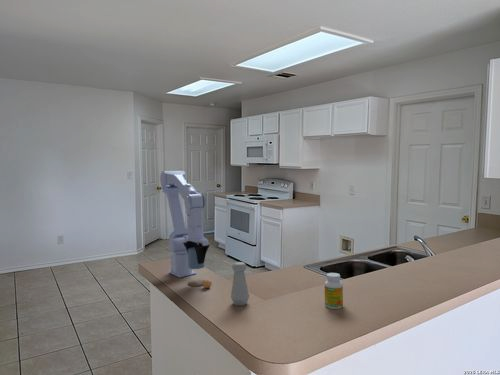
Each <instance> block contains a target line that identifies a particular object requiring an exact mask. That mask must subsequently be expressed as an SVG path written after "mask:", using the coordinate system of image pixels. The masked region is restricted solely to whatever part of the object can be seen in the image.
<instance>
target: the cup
mask: <svg viewBox="0 0 500 375" xmlns="http://www.w3.org/2000/svg"><path fill="white" fill-rule="evenodd" d="M188 266H189V268H191V269H192V270H199V269H204V268H205V267H206V259H205V260H204V263H202V264H198V261H197V254H196V251H195V248H194V247H191V248H189V249H188Z"/></svg>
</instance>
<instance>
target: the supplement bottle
mask: <svg viewBox="0 0 500 375" xmlns="http://www.w3.org/2000/svg"><path fill="white" fill-rule="evenodd" d="M343 285H344V284H343V281H341V275H340V273H337V272H327V274H326V280H325V282H324V306H325V307H326V308H327V309H332V310H339V309H342V308H343V307H344V301H343V300H344V293H343V292H344V286H343Z"/></svg>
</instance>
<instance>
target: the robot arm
mask: <svg viewBox="0 0 500 375" xmlns="http://www.w3.org/2000/svg"><path fill="white" fill-rule="evenodd" d="M159 177H160V179H159V180H160V186H161V190H162V192H163V193H164V194H166V197H167V202H168V207H169V211H170V212H169V213H170V217H171V222H172V228H173V231H172V232H171V233H170V234H169V235H168V236H169V237H168V247H169V251H170V252H171V255H170V270H169V271H168V273H169V274H171V275H173V276H176V277H177V278H183V277H187V276H192V275H196V274H197V272H196V271H194V270H193V269H191V268H189V266H188V249H189V248H191V247H194V248H195V251H196V254H197V261H198V264H202V263H204V260H205V261H206V255H207V252H208V250H209V248H210V244H209V239H207V238H206V237H204V215H203V214H204V212H203V209H204V208H205V206H206V199H205V195H204V194H203V193H202V192H197V190H196V188H195V187H194V185H192V184H191V183H188V182H187V175H186V172H185V170H184V169H183V170H162V171H161V172H160V176H159ZM179 195H180V196H181V198H182V199H183V201H184V203H183V204H184V207H185V208H184V209H185V214H186V215H187V227H186V223H185V218H184V213H183V209H182V203H181V200H180V196H179Z"/></svg>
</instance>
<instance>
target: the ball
mask: <svg viewBox="0 0 500 375" xmlns="http://www.w3.org/2000/svg"><path fill="white" fill-rule="evenodd" d="M203 280H204V281H203V286H202V287H203V288H205V289H209V288H210V287H211V286H212V281H211V280H210V279H209V278H205V279H203Z"/></svg>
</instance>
